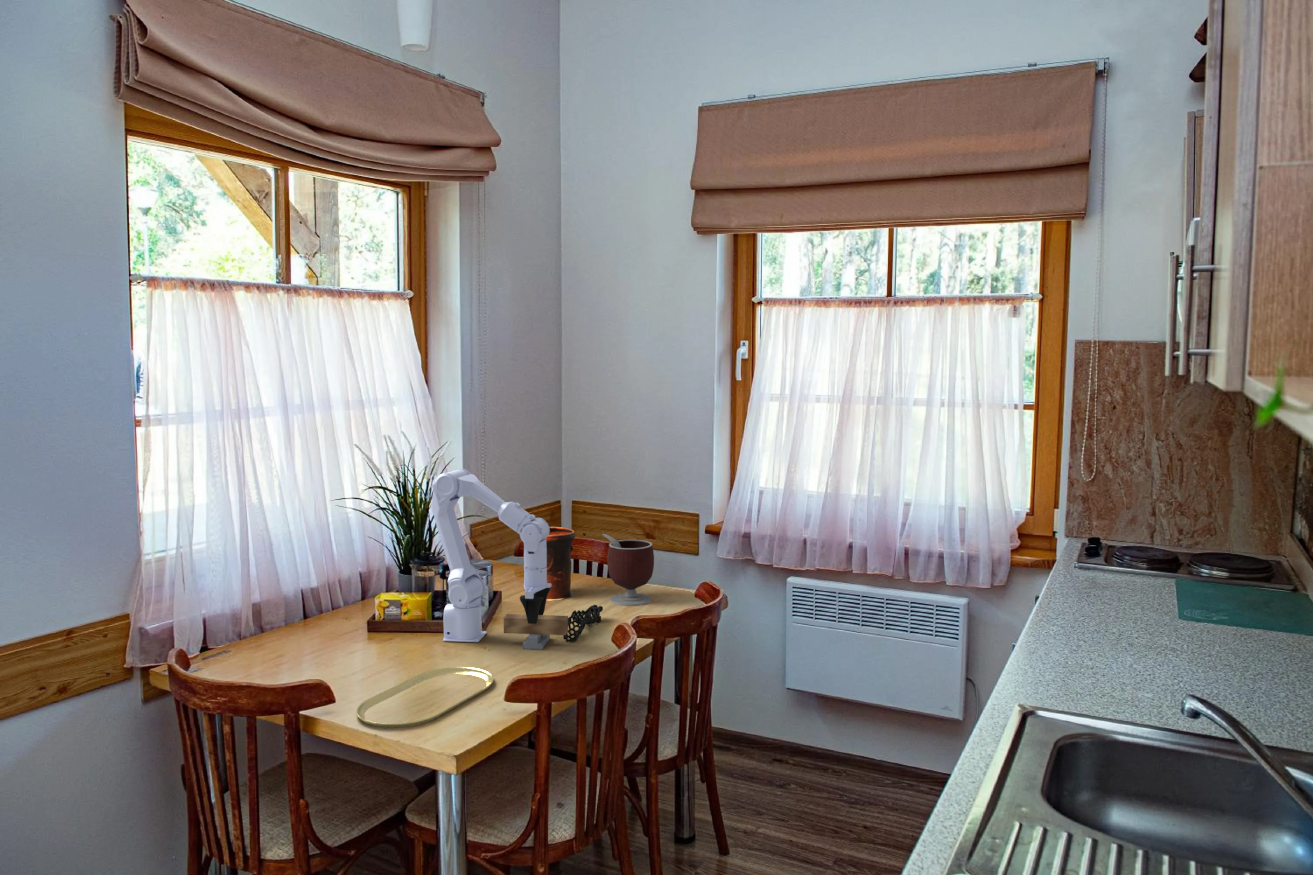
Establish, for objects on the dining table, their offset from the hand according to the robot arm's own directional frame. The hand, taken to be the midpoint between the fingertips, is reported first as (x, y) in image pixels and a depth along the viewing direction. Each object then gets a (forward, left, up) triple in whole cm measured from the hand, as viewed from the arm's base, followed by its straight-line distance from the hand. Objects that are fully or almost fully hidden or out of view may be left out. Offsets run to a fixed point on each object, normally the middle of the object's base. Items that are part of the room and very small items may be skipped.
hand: (535, 618), depth 244 cm
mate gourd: (+18, +43, -7) cm, 47 cm away
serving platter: (-15, -39, -7) cm, 42 cm away
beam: (0, 0, -4) cm, 3 cm away
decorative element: (+10, +13, -7) cm, 18 cm away
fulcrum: (0, 0, -7) cm, 7 cm away
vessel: (-6, +47, -7) cm, 48 cm away
